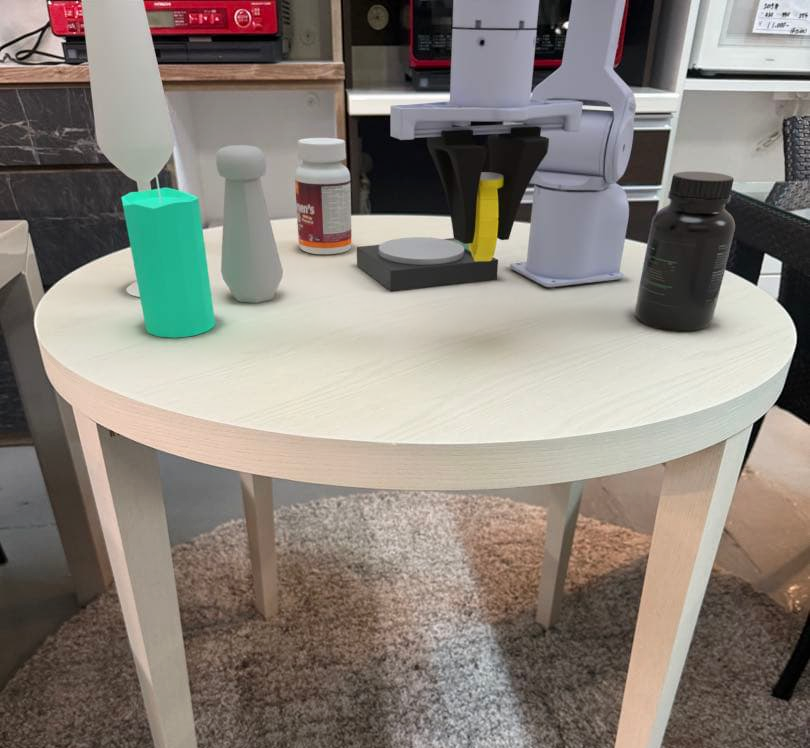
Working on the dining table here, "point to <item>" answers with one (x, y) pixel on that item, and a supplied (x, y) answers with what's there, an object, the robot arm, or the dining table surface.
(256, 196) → the salt shaker
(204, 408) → the dining table surface
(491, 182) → the watch
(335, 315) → the dining table surface
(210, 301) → the candle
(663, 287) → the supplement bottle
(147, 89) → the champagne flute
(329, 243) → the pill bottle
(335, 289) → the dining table surface
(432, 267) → the scale
